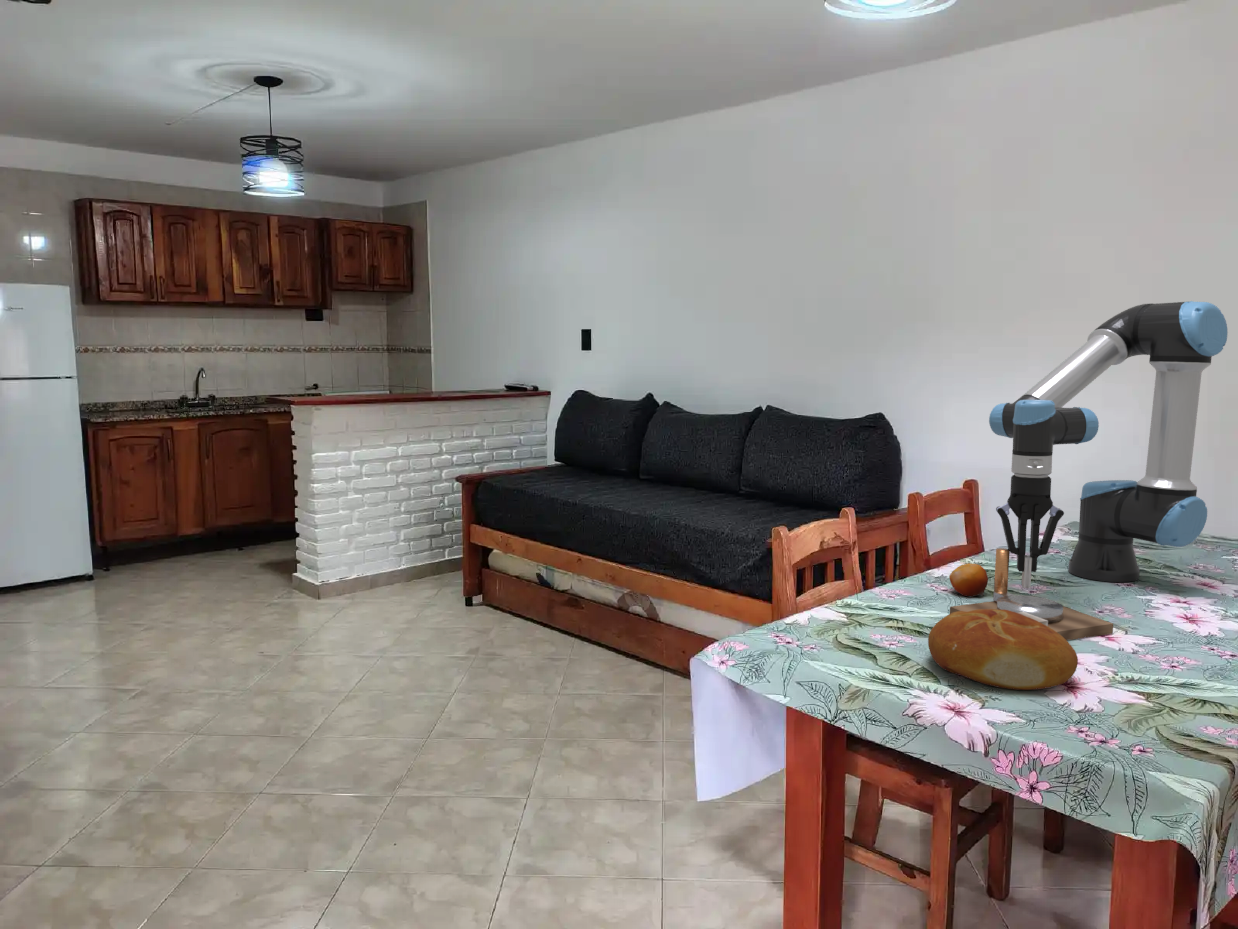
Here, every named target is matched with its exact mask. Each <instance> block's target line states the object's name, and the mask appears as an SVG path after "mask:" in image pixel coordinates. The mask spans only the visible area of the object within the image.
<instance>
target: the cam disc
mask: <svg viewBox="0 0 1238 929" xmlns="http://www.w3.org/2000/svg"><path fill="white" fill-rule="evenodd" d="M995 550H996V551H995V562H994V566H995V567H994V580H993V581H994V582H993V583H994V584H993V585H994V586H993V587H994V588H993V597H992V601H995V602H997V610H1009V611H1013V612H1016V613H1018V612H1026V613H1029V614H1031V615H1034V616H1037V617H1039V618H1042V619H1045V620H1047V621H1048V623H1050V622H1057V621H1060V620H1061V619H1062V617H1063V606H1064V605H1062V604H1061V603H1059V602H1058V601H1055V600H1053V599H1049V598H1045V597H1041V596H1035V595H1034V596H1035V597H1034V596H1033V595H1025V594H1024V595H1022V594H1019V595H1018V594H1017V595H1015V594H1013V593H1010V592H1008V587H1009V570H1010V567H1009V566H1010V555H1011V554H1010V553H1011V552H1010V550H1009V549H1008V548H1005V547H1004V548H1003V547H1002V548H996V549H995Z"/></svg>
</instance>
